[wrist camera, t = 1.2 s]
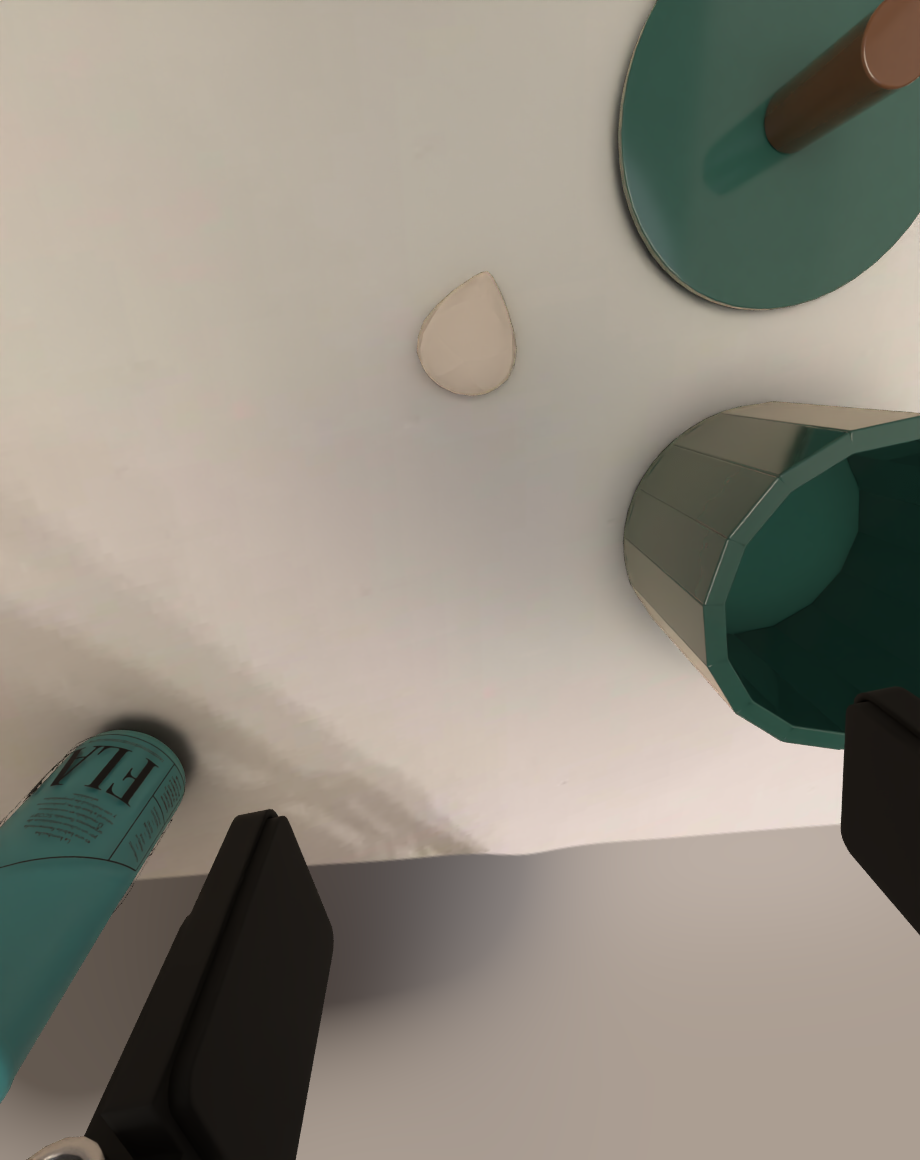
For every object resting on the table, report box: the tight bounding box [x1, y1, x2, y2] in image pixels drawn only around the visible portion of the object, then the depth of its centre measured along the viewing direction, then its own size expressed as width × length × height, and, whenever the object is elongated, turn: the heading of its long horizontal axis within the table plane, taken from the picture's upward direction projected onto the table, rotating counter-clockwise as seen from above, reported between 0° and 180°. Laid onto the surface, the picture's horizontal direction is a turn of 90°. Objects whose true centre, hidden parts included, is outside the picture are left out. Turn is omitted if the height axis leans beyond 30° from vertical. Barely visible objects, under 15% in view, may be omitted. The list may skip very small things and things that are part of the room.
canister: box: [623, 401, 920, 750], centre depth 24 cm, size 13×13×10 cm
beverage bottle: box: [0, 730, 185, 1103], centre depth 23 cm, size 6×7×20 cm
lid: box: [618, 0, 920, 310], centre depth 20 cm, size 14×14×7 cm
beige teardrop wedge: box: [417, 271, 517, 396], centre depth 24 cm, size 4×5×2 cm
